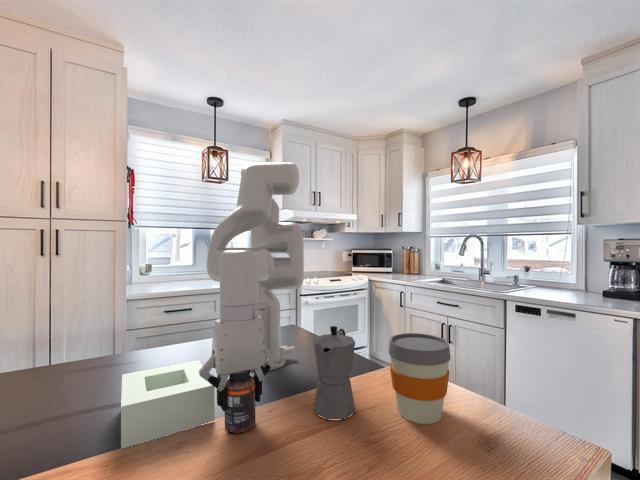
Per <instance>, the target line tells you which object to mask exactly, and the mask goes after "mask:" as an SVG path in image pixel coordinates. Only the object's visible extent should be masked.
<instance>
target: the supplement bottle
mask: <svg viewBox="0 0 640 480" xmlns="http://www.w3.org/2000/svg"><path fill="white" fill-rule="evenodd" d="M253 377H254V376H251V370H247V371H242V372H238V373H234V374H229V376H228V379H227V382H226V384H225V388H226V389H227V410H226V411H224V428H225V429H226V431H227V432H229V433H230V432H234V433H233V434H242V433H241V432H243V433H246V432H248V431H250V430H252V428H254V426H255V425H256V418H257V417H256V401H255V380H254V378H253ZM245 431H246V432H245Z"/></svg>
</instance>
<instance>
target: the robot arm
mask: <svg viewBox="0 0 640 480" xmlns="http://www.w3.org/2000/svg"><path fill="white" fill-rule="evenodd" d="M299 183H300V172H299V168H298V166H297V164H295V163H294V162H251V163H247V164H245V165H243V166H242V168H241V170H240V183H239V188H238V195H237V201H236V202H237V203H236V207H235V209H234V210H233V211H232V212H230V213H229V214H228V215H227V216H226V217H224V218H223V219H222V221H220V223H219V224H217V226H216V227H215V229H214V230H213V232H212V235H211V237H210V241H209V242H210V243H209V246H208V250H207V257H206V272H207V274H208V277H209V278H210V279H211V280H212V281H215V282H219V318H218V319H215V321H214V326H213V331H212V341H211V355H210V357H209V358H208V359H207V361H206V362H205V363H204V365H202V366H203V367H202V368H201V369H200V370H199V375H200V376H201V377H202V378H203V379H205V380H206V381H208V382H209V383H210V384H211V385H213V386H214V389H216V404H217V406H218V407H220V408H221V410H222V412H224V413H225V411H226V410H227V389H226V388H225V384H226V382H227V380H228V379H229V374H234V373H238V372H242V371H247V370H250V371H252V372H253V376H252V377H253V378H254V380H255V403H256V402H257V403H259V402H261V395H263V381H264V380H265V376H266V375H267V374H268V373H269V372H270V371H274V370H277V369H280V368H281V367H283V366H284V365H285V364H286V363H287V362H286V361H287V360H286V357H285V356H286V355H289V354H294V353H296V347H295V346H294V345H293V346H289V347H288V345H283V346H282V345H281V304H280V301H279V299H278V298H277V297H278V296H276V295H275V294H274V292H273V290H275V291H276V290H296V289H299V288H301V287H302V285H303V284H304V279H305V277H304V275H305V273H304V272H305V269H304V268H305V267H304V265H305V261H304V260H305V259H304V258H305V257H304V255H305V254H304V252H305V251H304V249H305V247H304V244H305V243H304V242H305V241H304V233H303V229H302V226H301V225H300V224H299V223H297V222H292V221H287V222H286V221H285V222H284V221H280V208H279V204H278V203H277V202H276V200H275V199H274V198H273V196H274V195H276V196H280V195H281V196H282V195H283V196H285V195H287V196H289V195H294V194H295V193H296V192H297V189H298V187H299ZM247 231H250V245H251V247H228V245H229V243H230V242H231V241H232V240H233V239H234V238H235V237H238V236H239V235H240V234H243V233H245V232H247ZM272 254H286V255H288V257H287V256H285V257H284V256H283V257H276V256H275V257H274V256H273V255H272ZM212 369H215V372H216V374H217V375H216V376H215V375H214V374H212V373H210V372H211V371H212Z"/></svg>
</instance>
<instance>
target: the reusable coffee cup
mask: <svg viewBox="0 0 640 480" xmlns="http://www.w3.org/2000/svg"><path fill="white" fill-rule="evenodd" d="M388 355H389V356H390V362H391V363H390V364H389V370H390V377H391V385H392V389H393V390H394V392H395V400H396V408H397V413H398V414H399V416H401V417H402V416H403V417H404V419H405V420H406V421H409V422H412V423H416V424H421V425H428V424H429V425H430V424H435V423H437V422H439V421H441V419H442V416H443V410H444V400H445V398H446V396H447V393H448V385H449V377H450V369H448V367H449V361H451V350H450V343H449V342H448V340H446V339H444V338H442V337H439V336H436V335H432V334H427V333H418V332H413V333H412V332H407V333H406V332H405V333H398V334H394V335H393V336H390V338H389V345H388ZM403 417H402V418H403Z"/></svg>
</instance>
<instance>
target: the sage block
mask: <svg viewBox="0 0 640 480" xmlns="http://www.w3.org/2000/svg"><path fill="white" fill-rule="evenodd" d="M203 366H204V365H203V364H202V362H201V361H200V360H199V359H197V360H194V361H193V360H191V361H186V362H182V363H175V364H170V365H165V366H160V367H156V368H150V369H144V370H138V371H134V372H129V373H123V374H121V396H120V399H121V401H120V436H121V437H120V449H121V450H123V449H122V448H124V449H127V448H126V447H128V448H130V447H129V446H131V447H134V446H133V445H135V446H137V445H136V444H138V445H141V444H140V443H142V444H144V443H143V442H145V443H147V442H146V441H148V442H151V441H150V440H152V441H154V440H153V439H155V440H157V439H156V438H159V437H162V438H164V437H163V436H166V435H169V436H171V435H170V434H173V433H176V432H179V433H181V432H180V431H182V430H185V429H189V428H192V427H195V426H198V425H201V424H205V423H208V422H211V421H214V420H215V419H216V416H215V415H216V413H215V409H216V408H215V406H216V405H215V403H216V402H215V401H216V400H215V398H216V397H215V394H216V393H215V387H214V386H213V385H211V384H210V383H209V382H208V381H206V380H205V379H203V378H202V377H201V376H200V375H199V370H200V369H201V368H202V367H203ZM176 434H177V433H176ZM173 435H174V434H173ZM166 437H167V436H166ZM159 439H160V438H159Z"/></svg>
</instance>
